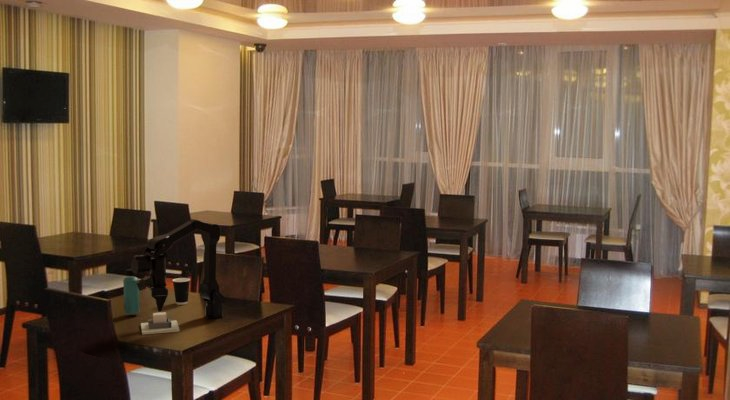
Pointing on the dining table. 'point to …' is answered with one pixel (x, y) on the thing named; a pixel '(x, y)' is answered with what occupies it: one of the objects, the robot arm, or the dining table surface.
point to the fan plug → (159, 317)
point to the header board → (159, 327)
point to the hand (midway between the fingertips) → (159, 308)
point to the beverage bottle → (131, 294)
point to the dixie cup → (181, 290)
